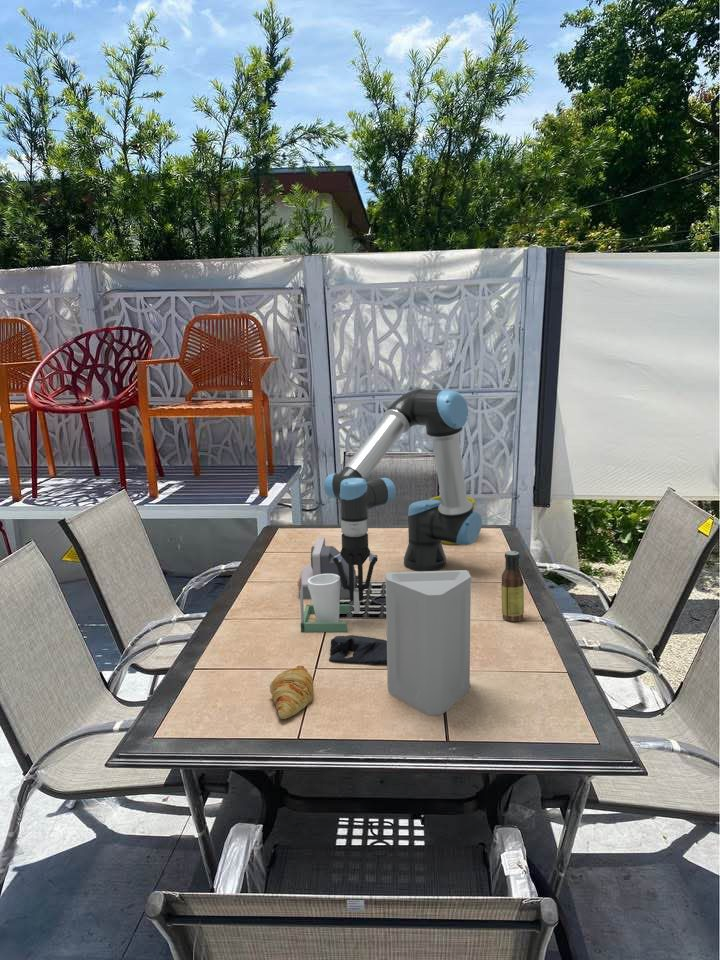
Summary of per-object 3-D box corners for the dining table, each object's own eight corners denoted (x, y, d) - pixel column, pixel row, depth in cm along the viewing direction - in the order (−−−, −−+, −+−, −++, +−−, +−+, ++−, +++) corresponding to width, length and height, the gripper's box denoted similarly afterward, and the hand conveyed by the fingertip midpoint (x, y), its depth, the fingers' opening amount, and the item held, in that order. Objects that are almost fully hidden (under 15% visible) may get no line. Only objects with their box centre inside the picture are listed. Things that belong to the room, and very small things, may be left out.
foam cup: (343, 626, 200) (339, 583, 197) (311, 629, 200) (306, 586, 197) (344, 613, 209) (340, 572, 206) (313, 616, 209) (309, 574, 207)
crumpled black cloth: (407, 673, 175) (407, 655, 174) (323, 663, 181) (323, 646, 180) (419, 646, 189) (419, 630, 188) (341, 638, 195) (341, 622, 194)
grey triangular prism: (391, 716, 154) (389, 596, 148) (387, 683, 169) (385, 572, 163) (478, 713, 155) (479, 593, 149) (466, 680, 169) (467, 570, 163)
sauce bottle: (527, 617, 204) (529, 552, 200) (516, 624, 200) (518, 557, 196) (508, 612, 209) (509, 548, 204) (496, 618, 204) (497, 553, 200)
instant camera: (307, 576, 244) (305, 534, 241) (365, 578, 240) (364, 536, 237) (289, 598, 224) (287, 553, 220) (352, 602, 220) (351, 556, 216)
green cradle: (349, 612, 211) (348, 559, 208) (346, 637, 194) (344, 580, 191) (306, 612, 212) (304, 560, 209) (299, 637, 195) (296, 581, 191)
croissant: (297, 738, 153) (312, 709, 151) (255, 718, 153) (271, 689, 151) (311, 687, 174) (325, 662, 172) (275, 669, 173) (289, 643, 171)
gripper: (330, 537, 196) (333, 616, 201) (377, 536, 195) (379, 616, 200) (333, 529, 203) (335, 606, 208) (378, 529, 202) (379, 606, 207)
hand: (357, 611), depth 204 cm, fingers closed
